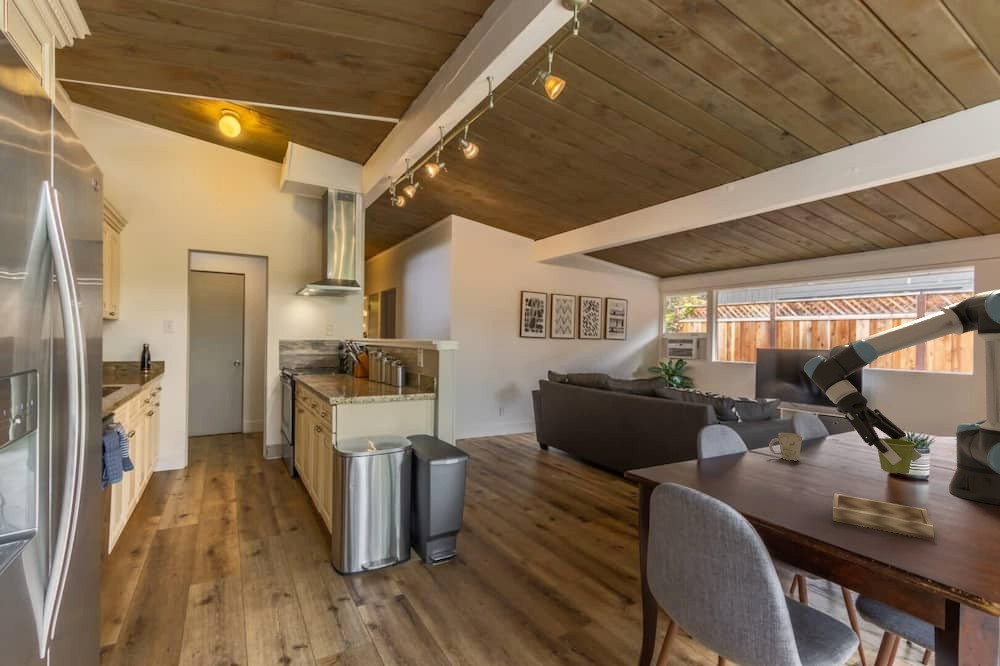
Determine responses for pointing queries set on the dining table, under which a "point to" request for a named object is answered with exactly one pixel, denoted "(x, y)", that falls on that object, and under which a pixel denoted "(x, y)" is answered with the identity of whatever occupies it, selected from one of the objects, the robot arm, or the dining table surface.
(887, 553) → the dining table surface
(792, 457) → the mug
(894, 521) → the tray
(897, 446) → the plant pot
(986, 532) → the dining table surface
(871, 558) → the dining table surface
